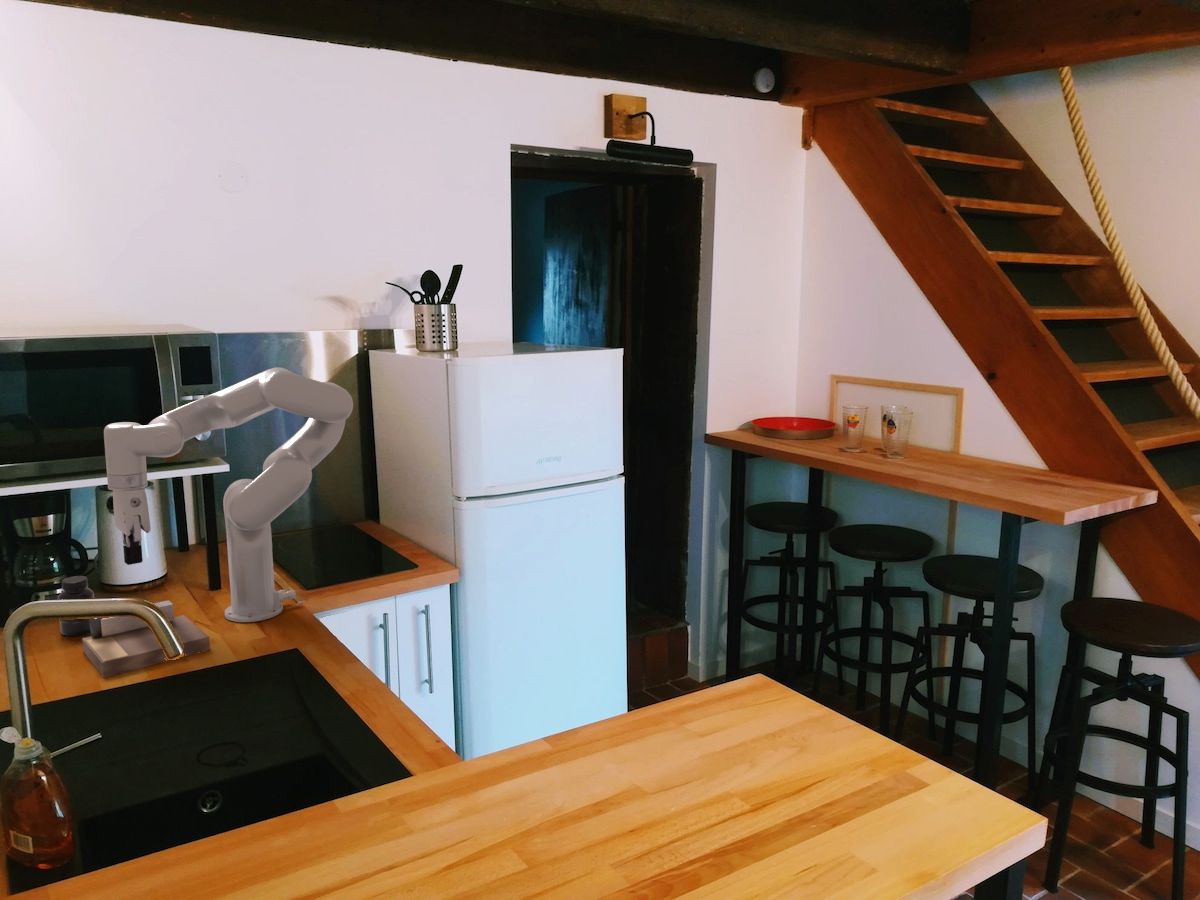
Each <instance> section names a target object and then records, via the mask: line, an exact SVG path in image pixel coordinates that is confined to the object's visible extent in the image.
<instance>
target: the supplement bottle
mask: <svg viewBox="0 0 1200 900" xmlns="http://www.w3.org/2000/svg"><path fill="white" fill-rule="evenodd" d="M88 581H89V580H88V577H87V576H85V575H84V576H83V575H75V576H68V577H66V578H63V579H62V581H61V589H62V591H61V592H60V593H59V595H57V600H58V599H86V598H94V599H95V593H94V591H93V590H92V589H91V588H89V583H88ZM59 626H60V627H59V628H60V633H61V634H62V635H63V636H64V635H65V637H70V636H74V637H81V636H80V635H82V636H85V634H86V635H89V634H91V630H90V620H89V619H74V620H61V621H60V620H59ZM88 633H89V634H88Z"/></svg>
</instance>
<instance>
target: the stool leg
mask: <svg viewBox="0 0 1200 900" xmlns="http://www.w3.org/2000/svg"><path fill="white" fill-rule="evenodd" d="M153 604H155V605H156V606H158V607H159V608H160V609H161V610H162V611H163V612H164V614H165V615H166V617H167V618H168V619H169V621H173V620H175V619H174V617H175V610H174V609H175V608H174V603H172V602H171V601H170V600H164V601H160V602H155V603H153ZM89 620H90V630H91V633H90V636H91V638H100V637H103V636H108V635H112V634H116V633H121V632H125V631H129V630H134V629H138V628H142V627H147V626H148V625H147V624H146V623H144V622H143V621H141V620H139V619H137V618H132V617H109V618H90V619H89Z"/></svg>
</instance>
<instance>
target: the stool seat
mask: <svg viewBox="0 0 1200 900" xmlns="http://www.w3.org/2000/svg"><path fill="white" fill-rule="evenodd" d="M174 619H175V620H173V621H170V623H171V624H172V626H173V628H174V629H175V631H176V632H177V634H178V636H179V637H180V639H181V641H182V643H183V645H184V656H185V654H186V655H189V656H193V655H196V654H195V653H197V654H199V653H198V652H201V653H204V652H203V651H205V652H209V651H211V643H210V636H209V635H208V634H207V633H206V632H205V631H203V630H202V629H201V628H200V627H198V626H197V625H196V624H195V623H194V622H193V621H191V619H189V618H188V617H187V616H186V615H185V614H182V615H178V616H174ZM81 640H82V651H83V653H84V654H85V656H86V657H87V658H88V660H89V661H90V662H91V664H92V665H93V666H94V667H95V669H96V670H97V672H99V674H100V675H101V677H103V678H108V677H111V676H114V675H115V676H116V675H119V674H123V673H127V672H130V671H134V670H135V671H136V670H138V669H142V668H146V667H150V666H153V665H157V664H158V665H159V664H162V663H166V662H169V661H171V660H168V659H167V658H166V656H165V654H164V652H163V649H162V647H161V646H160V644H159V642H158V640H157V639H156V637H155V635H154V634H153V632H152V630H151V629H150V628H149V627H148V626H147V627H142V628H138V629H134V630H129V631H125V632H121V633H116V634H112V635H108V636H103V637H100V638H91V635H90V636H86V637H82V638H81ZM208 650H209V651H208ZM192 654H193V655H192ZM185 657H186V656H185ZM164 658H166V659H167V660H168V661H166V660H165V659H164ZM163 661H164V662H163Z"/></svg>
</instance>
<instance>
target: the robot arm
mask: <svg viewBox="0 0 1200 900" xmlns="http://www.w3.org/2000/svg"><path fill="white" fill-rule="evenodd" d="M353 408H354V401H353V398H352V396H351V394H350V393H349V392H348V390H347V389H345V388H344V387H341V386H340V385H338V384H336V383H334V382H331V381H319V380H315V379H313V378H310V377H306V376H302V375H300V374H297V373H294V372H292V371H290V370H288V369H286V368H284V367H280V366H279V367H272V368H269V369H266V370H264V371H261V372H259V373H257V374H254V375H252V376H250V377H248V378H246V379H243V380H241V381H239V382H237V383H235V384H232V385H230V386H227V387H226V388H222V389H221V390H219V391H216V392H214V393H211V394H209V395H207V396H204V397H202V398H199V399H197V400H194V401H192V402H189V403H186V404H184V405H182V406H179V407H177V408H175V409H173V410H170V411H168V412H166V413H164V414H162V415H159V416H157V417H155V418H154V419H152V420H151V421H150V422H149V423H148V424H146V425H142V424H140V423H138V422H130V421H121V422H113V423H109V424H107V425H106V426H105V427H104V429H103V440H104V441H103V442H104V456H105V465H106V468H105V469H106V477H107V480H106V481H107V489H108V490H109V491H112V499H113V500H112V503H113V518H114V524H115V525H114V526H115V527H116V528H117V530H119V531H120V532H121V537H122V545H123V547H122V548H123V559H124V561H123V562H124V563H125V564H126V565H128V566H129V565H130V566H131V565H135V564H140V563H141V564H142V563H143V561H144V558H143V549H142V547H143V545H142V541H143V539H142V531H143V532H145V533H147V534H148V533H149V534H150V532H151V530H152V529H151V528H152V527H151V519H150V512H149V503H148V497H147V493H146V489H145V488H147V487H148V485H149V484H148V469H147V458H146V457H154V458H170V457H171V458H172V457H174V456H175V455H177V454H179V453H180V452H181V451H182V449H183V448H184V445H185V442H187V441H189V440H191V439H193V438H196V437H198V436H200V435H203V434H205V433H208V432H211V431H214V430H220V429H231V428H235V427H238V426H241V425H242V424H245V423H247V422H249V421H252V420H253V419H254V418H257V417H259V416H262V415H263V414H266V413H268V412H270V411H273V410H275V409H278V410H282V411H284V412H288V413H290V414H291V413H292V414H294V415H298V416H302V417H306V418H308V419H307V420H306V422H305V423H304V424H303V426H302V427H301V428H299V430H298V431H297V432H296V433H295V434H294V435H293V436H292V437H290V438H288V440H286V441H285V442H284V443H283V444H282V445H280V446H279V447H278V448H277V449H276V450H274V451H273V452H271V453H270V454H269V455H268V456H267V457H266V458H265V459H264V462H263V464H262V472H261V473H260V474H259V475H258V476H256V478H254V479H251V478H241V479H237V480H235V481H233V482H232V483H231V484H229V486H228V487H227V489H226V491H225V492H224V496H223V499H222V500H223V501H222V503H223V504H222V505H223V513H224V514H223V516H224V521H225V523H224V524H225V532H226V546H227V560H228V572H229V573H228V576H229V577H228V578H229V586H230V588H229V589H230V602H231V603H230V604H231V605H229V606H227V608H225V610H224V617H225V618H226V619H227V620H229V621H231V622H236V623H252V622H253V623H254V622H261V621H266V620H269V619H272V618H274V617H276V616H279V614H281V613H282V612H283V610H284V608H283V603H282V602H284V601H285V600H291V599H295V598H296V597H297V593H296V591H295V589H291V590H286V589H279V590H276V589H275V576H274V574H275V573H274V561H273V560H274V558H273V541H272V538H273V537H272V526H271V523H272V521H274V520H276V518H278V517H279V516H280V515H281V514H282V513H283V512H285V511H286V509H288V508H289V507H290V506H292V505H293V503H295V502H296V501H297V500H298V499H299V498H300V497H302V495H304V494H305V492H306V491H307V490H308V488H309V487H310V484H311V482H312V477H313V472H312V470H313V469H315V468H316V466H318V465H319V464H320V463H321V462H322V460H324V459H325V458H326V457H327V456H328V455H329V454H330V453H331V452H332V451H333V450H334V449H335V447H336V446H337V445H338V444H339V442H340V440H341V438H342V436H343V433H344V431H345V426H346V420H347V419H349V418H350V417H351V416H350V415H352V412H353V410H354V409H353Z"/></svg>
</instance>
